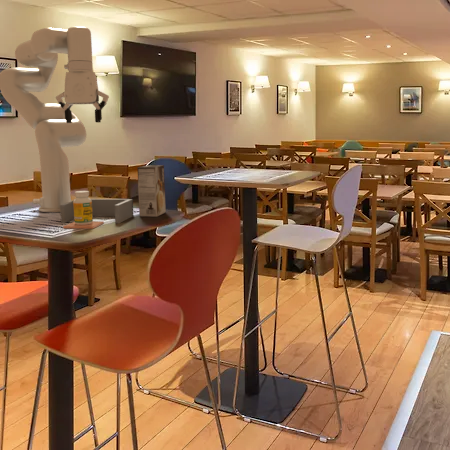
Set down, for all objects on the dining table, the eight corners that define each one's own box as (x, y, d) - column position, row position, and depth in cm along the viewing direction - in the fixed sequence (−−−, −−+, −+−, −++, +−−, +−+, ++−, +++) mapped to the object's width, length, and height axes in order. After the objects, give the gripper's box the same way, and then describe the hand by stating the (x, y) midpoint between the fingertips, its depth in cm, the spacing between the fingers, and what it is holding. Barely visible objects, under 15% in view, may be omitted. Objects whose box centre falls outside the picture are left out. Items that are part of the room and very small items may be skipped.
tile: (63, 228, 170) (63, 226, 170) (75, 223, 178) (75, 221, 178) (93, 228, 168) (93, 226, 168) (103, 223, 177) (103, 221, 177)
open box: (61, 222, 180) (60, 205, 179) (79, 215, 194) (78, 198, 193) (119, 223, 177) (118, 205, 176) (133, 215, 192) (132, 199, 191)
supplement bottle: (83, 221, 177) (81, 190, 175) (96, 222, 175) (95, 190, 173) (70, 224, 172) (68, 192, 171) (84, 225, 170) (82, 192, 168)
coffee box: (148, 212, 199) (146, 165, 196) (166, 212, 198) (164, 165, 195) (138, 216, 190) (136, 166, 187) (157, 216, 189) (156, 166, 186)
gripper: (49, 67, 183) (53, 123, 186) (103, 66, 181) (105, 122, 184) (59, 69, 191) (62, 123, 194) (110, 68, 188) (113, 122, 191)
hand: (83, 122), depth 189 cm, fingers open, 9 cm apart
